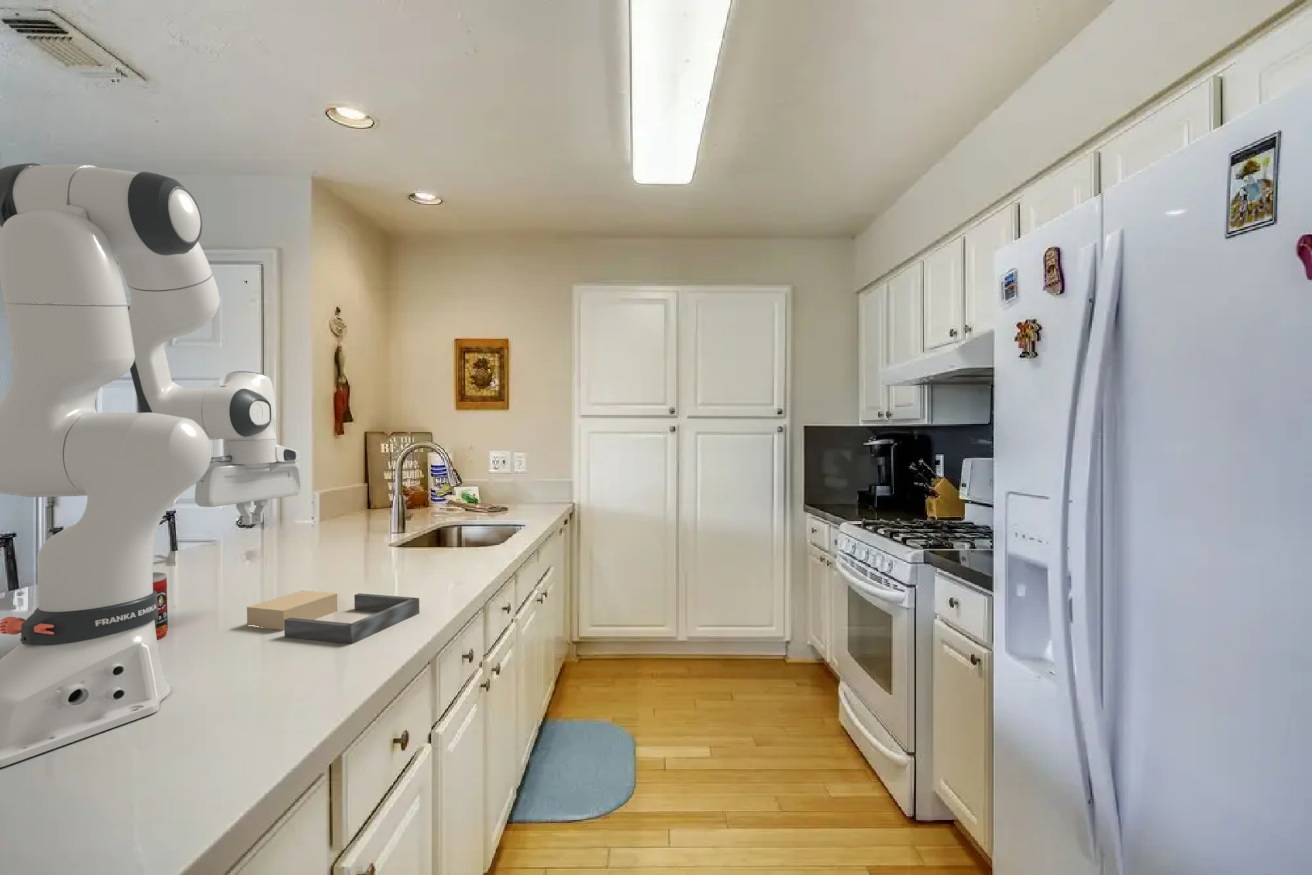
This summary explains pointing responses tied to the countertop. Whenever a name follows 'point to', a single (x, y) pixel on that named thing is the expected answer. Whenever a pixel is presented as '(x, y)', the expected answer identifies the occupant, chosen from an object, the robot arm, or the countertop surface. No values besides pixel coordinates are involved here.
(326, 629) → the dark grey piece
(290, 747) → the countertop surface
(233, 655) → the countertop surface
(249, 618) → the carton
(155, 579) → the canned food
